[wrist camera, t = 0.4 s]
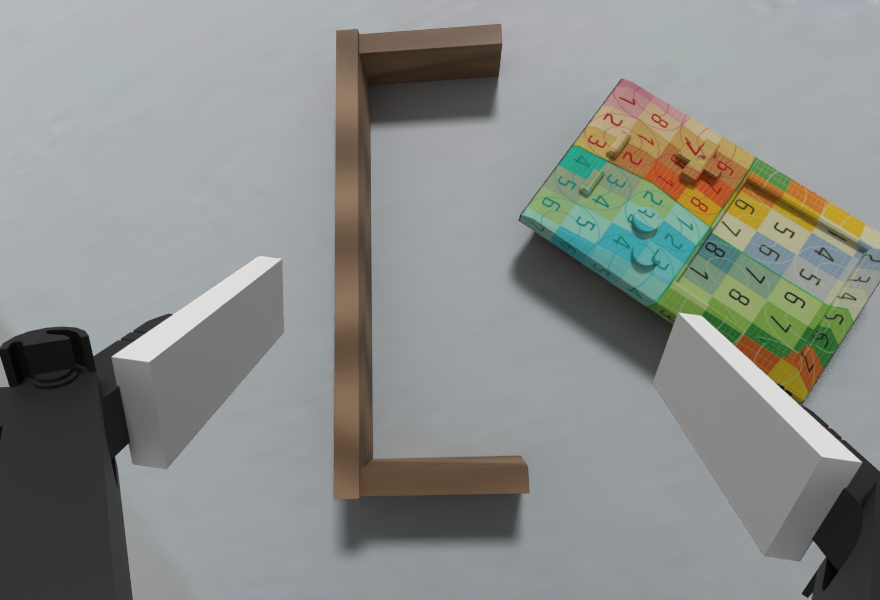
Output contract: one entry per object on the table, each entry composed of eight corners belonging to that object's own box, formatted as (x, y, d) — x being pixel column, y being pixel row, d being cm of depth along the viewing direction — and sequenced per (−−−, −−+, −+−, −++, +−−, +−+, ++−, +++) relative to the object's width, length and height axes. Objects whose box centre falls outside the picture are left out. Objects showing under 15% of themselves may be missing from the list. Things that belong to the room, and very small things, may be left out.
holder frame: (522, 479, 30) (530, 495, 26) (351, 482, 30) (333, 499, 27) (497, 58, 35) (501, 18, 31) (350, 68, 35) (336, 30, 32)
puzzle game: (626, 69, 29) (918, 241, 27) (604, 110, 34) (851, 261, 31) (522, 209, 28) (814, 404, 25) (514, 232, 33) (761, 399, 30)
